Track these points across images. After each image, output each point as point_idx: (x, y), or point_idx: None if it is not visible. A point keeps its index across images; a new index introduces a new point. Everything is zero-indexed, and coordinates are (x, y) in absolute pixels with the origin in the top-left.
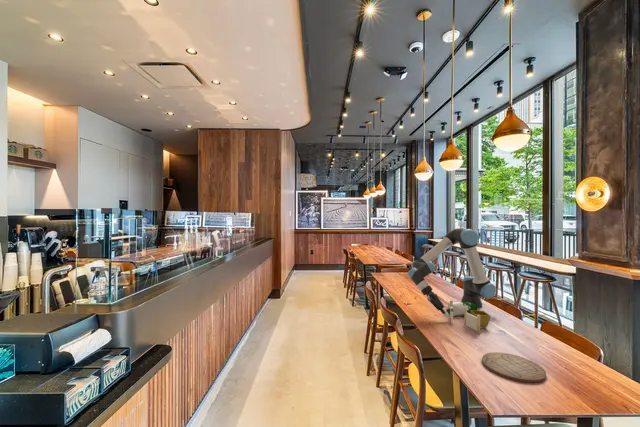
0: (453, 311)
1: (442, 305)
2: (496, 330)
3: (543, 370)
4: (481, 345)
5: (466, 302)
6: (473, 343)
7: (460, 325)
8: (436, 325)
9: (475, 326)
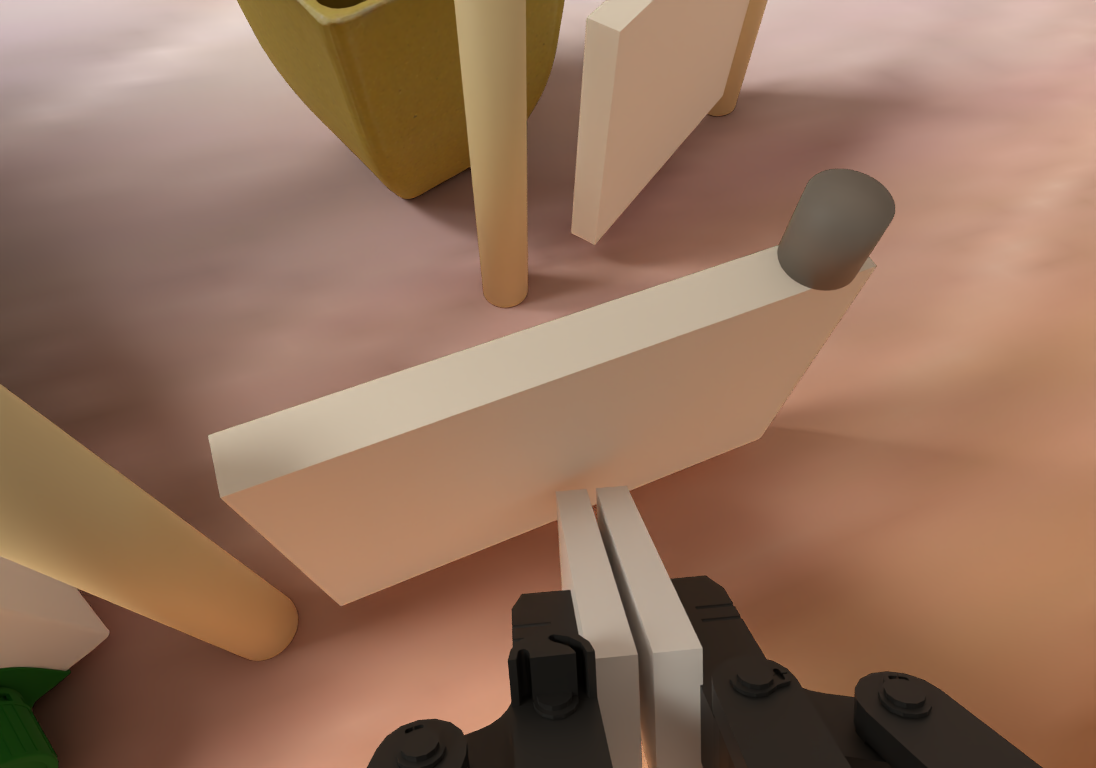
0: (26, 594)
1: (515, 748)
2: None
3: None
4: (1047, 18)
5: None
6: (1089, 69)
7: None
8: (1050, 678)
9: (723, 57)
